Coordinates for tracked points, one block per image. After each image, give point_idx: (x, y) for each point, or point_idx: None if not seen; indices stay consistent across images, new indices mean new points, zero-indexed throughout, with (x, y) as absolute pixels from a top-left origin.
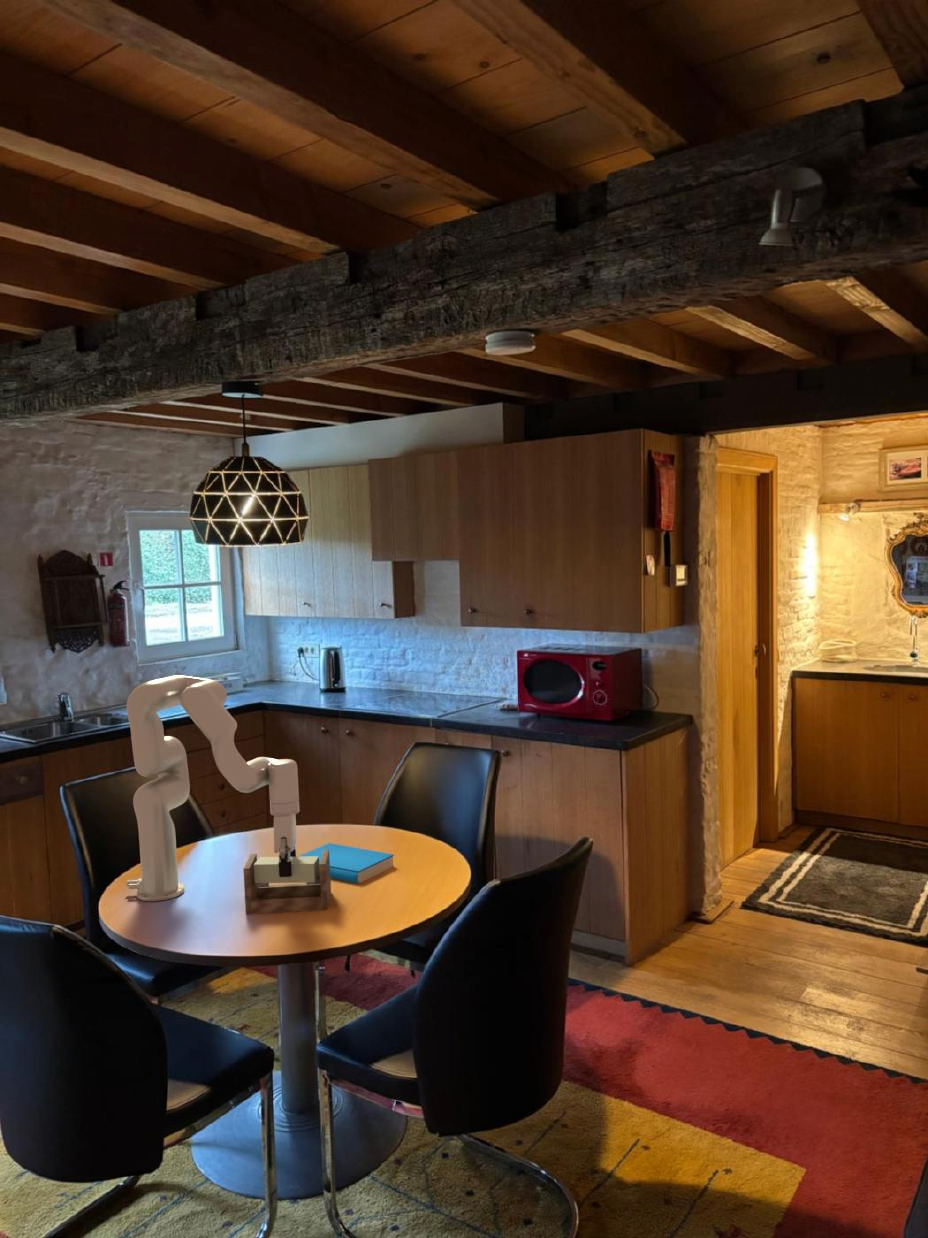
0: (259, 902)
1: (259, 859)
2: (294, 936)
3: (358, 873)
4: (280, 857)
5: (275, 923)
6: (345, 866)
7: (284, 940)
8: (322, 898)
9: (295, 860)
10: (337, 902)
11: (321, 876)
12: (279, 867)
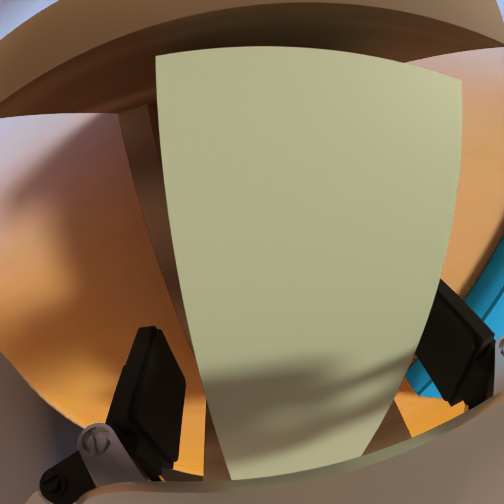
0: (128, 155)
1: (388, 77)
2: (30, 324)
3: (418, 390)
4: (43, 480)
5: (72, 250)
6: None
7: (7, 307)
8: None
9: (301, 432)
10: None
11: (206, 456)
12: (123, 384)
